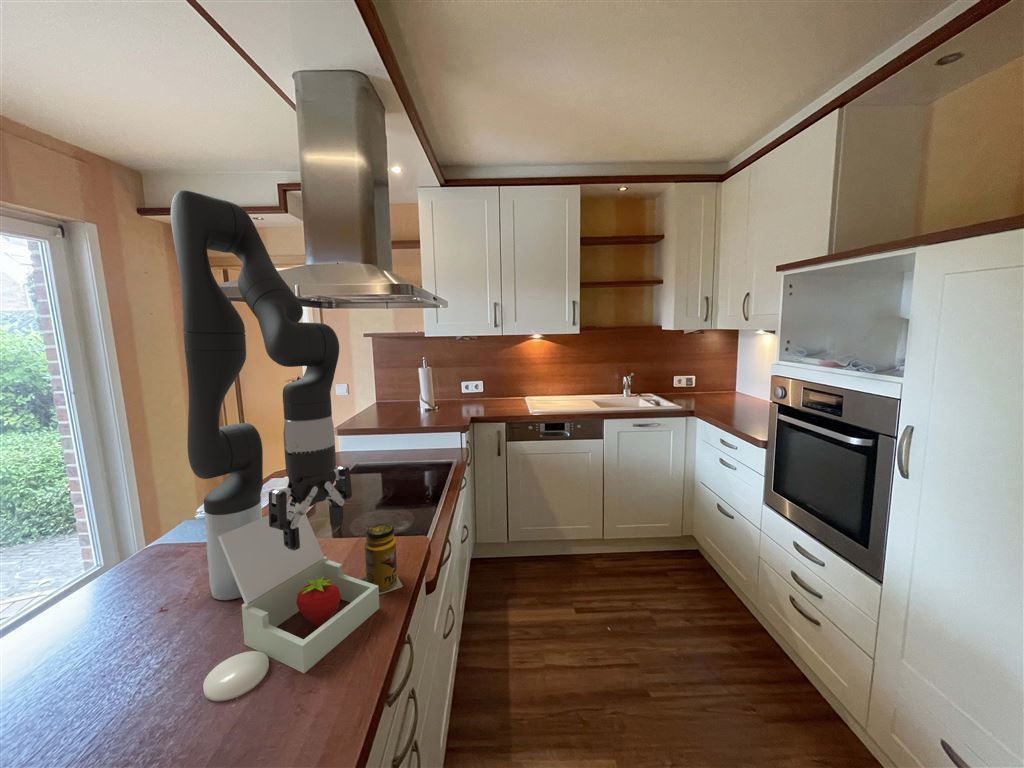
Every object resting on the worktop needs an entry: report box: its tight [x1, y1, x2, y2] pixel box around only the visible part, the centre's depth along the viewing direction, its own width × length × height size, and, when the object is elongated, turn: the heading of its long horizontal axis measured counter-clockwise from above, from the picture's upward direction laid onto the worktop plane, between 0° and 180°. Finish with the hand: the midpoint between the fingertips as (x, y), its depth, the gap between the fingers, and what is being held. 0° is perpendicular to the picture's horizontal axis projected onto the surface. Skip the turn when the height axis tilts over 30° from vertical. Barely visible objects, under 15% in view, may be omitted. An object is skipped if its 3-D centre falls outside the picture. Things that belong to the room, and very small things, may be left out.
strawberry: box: [296, 576, 341, 628], centre depth 69 cm, size 6×8×10 cm
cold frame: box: [218, 503, 380, 674], centre depth 70 cm, size 20×16×18 cm
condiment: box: [358, 523, 404, 595], centre depth 81 cm, size 7×8×12 cm
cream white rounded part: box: [202, 650, 270, 702], centre depth 59 cm, size 8×8×1 cm
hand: (315, 536), depth 68 cm, fingers open, 8 cm apart
